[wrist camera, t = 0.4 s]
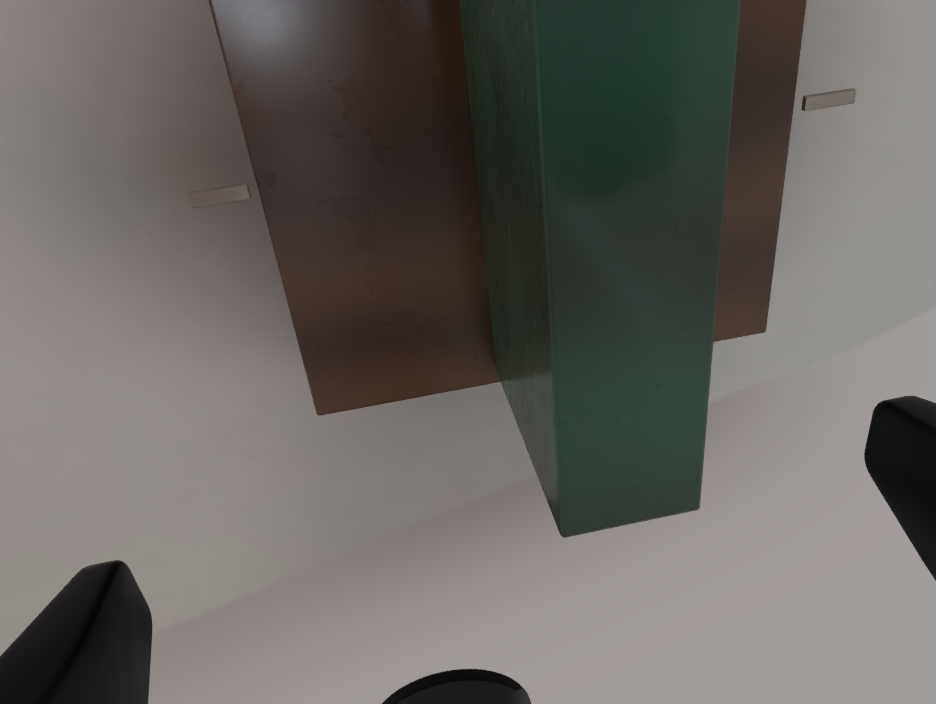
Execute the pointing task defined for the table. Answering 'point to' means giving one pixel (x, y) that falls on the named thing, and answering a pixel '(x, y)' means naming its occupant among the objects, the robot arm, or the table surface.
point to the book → (604, 237)
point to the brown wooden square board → (440, 184)
